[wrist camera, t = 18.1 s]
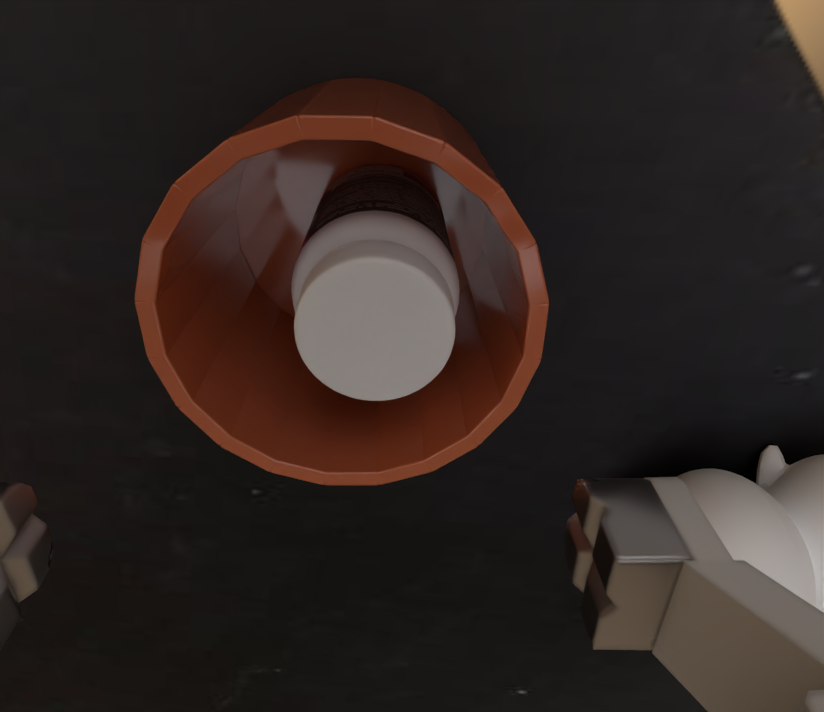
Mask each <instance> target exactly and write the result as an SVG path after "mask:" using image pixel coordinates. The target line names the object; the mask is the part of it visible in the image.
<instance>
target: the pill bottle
mask: <svg viewBox="0 0 824 712" xmlns="http://www.w3.org/2000/svg"><path fill="white" fill-rule="evenodd" d="M291 293H292V302H293V307H294V310H295V319H294V334H295V342H296V345H297V348H298V351H299V353H300V356H301V358H302V360H303V361H304V363H305V365H306V366H307V367H308V369H309V370H310V371H311V372H312V374H313V375H314V376H315V377H316V378H317V379H319V380H320V381H321V382H322V383H323V384H325V385H326V386H328V387H329V388H331V389H333V390H334V391H336V392H338V393H341V394H343V395H346V396H348V397H352V398H355V399H360V400H368V401H386V400H392V399H397V398H401V397H404V396H407V395H409V394H412V393H414V392H416V391H418V390H420V389H421V388H423V387H424V386H426V385H427V384H428V383H429V382H431V381H432V380H433V379H434V378H435V377H436V376H437V375H438V374H439V373H440V372H441V370H442V369H443V368H444V366H445V364H446V362H447V361H448V359H449V357H450V354H451V351H452V348H453V345H454V340H455V316H456V313H457V309H458V305H459V296H460V288H459V278H458V273H457V269H456V265H455V261H454V257H453V253H452V250H451V246H450V242H449V237H448V233H447V229H446V225H445V220H444V215H443V212H442V209H441V206H440V204H439V202H438V200H437V198H436V196H435V195H434V193H433V192H432V191H431V189H430V188H429V187H428V186H427V185H426V184H425V183H424V182H423V181H422V180H420V179H419V178H418V177H417V176H415V175H414V174H412V173H410V172H408V171H406V170H403V169H401V168H397V167H393V166H386V165H369V166H364V167H359V168H356V169H354V170H351V171H349V172H347V173H345V174H344V175H342V176H341V177H339V178H338V179H337V180H336V181H335V182H333V183H332V184H331V185H330V187H329V188H328V189H327V190H326V192H325V193H324V195H323V196H322V198H321V200H320V202H319V204H318V206H317V209H316V212H315V214H314V217H313V220H312V222H311V225H310V227H309V229H308V232H307V235H306V237H305V239H304V242H303V245H302V247H301V249H300V252H299V254H298V256H297V259H296V262H295V265H294V270H293V275H292V282H291Z"/></svg>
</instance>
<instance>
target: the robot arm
mask: <svg viewBox="0 0 824 712" xmlns="http://www.w3.org/2000/svg"><path fill="white" fill-rule="evenodd" d="M572 501H573V504H574V507H575V510H576V513H575V514H574V515H573V516H572V517H571V518H569V519H568V520H567V526H566V532H565V556H566V562H567V567H568V571H569V575H570V578H571V581H572V583H573V584H574V585H575V586H576V587H577V588H579V589H580V590H581V591H582V592H583V597H582V602H581V606H580V610H581V613H582V616H583V619H584V622H585V626H586V629H587V632H588V635H589V638H590V641H591V644H592V647H593V649H609V650H653V652H652V653H653V655H654V656H655V657H656V658H657V659H658V660H659V661H660V662H661V663H662V664H663V665H664V666H665V667H666V668H667V669H668V670H669V671H670V672H671V673H672V674H673V675H674V677H675V678H676V679H677V680H678V681H679V682H680V683H681V684H682V685H683V686H684V687H685V688H686V689H687V690H688V691H689V692H690V693H691V694H692V695H693V696H694V697H695V699H696V700H697V701H698V702H699V703H700V704H701V705H702V706H703V707H704V708H705V709H706V710H707V711H708V712H824V613H823V612H822V611H820V610H819V609H817V608H816V607H814V606H813V605H811V604H810V603H808V602H806V601H805V600H803V599H802V598H800V597H799V596H797V595H796V594H794V593H793V592H791V591H790V590H788V589H787V588H785V587H784V586H782V585H781V584H779V583H778V582H776V581H775V580H773V579H772V578H770V577H769V576H767V575H766V574H764V573H763V572H761V571H760V570H758V569H756V568H755V567H753V566H752V565H750V564H749V563H747V562H746V561H744V560H733V558H732V557H731V555H730V554H729V552H728V550H727V549H726V547H725V546H724V544H723V543H722V541H721V539H720V538H719V536H718V535H717V533H716V532H715V530H714V528H713V527H712V525H711V524H710V522H709V520H708V519H707V517H706V516H705V514H704V513H703V511H702V509H701V508H700V506H699V505H698V503H697V501H696V500H695V498H694V497H693V495H692V494H691V492H690V490H689V489H688V487H687V486H686V484H685V483H684V481H683V480H681V479H680V478H678V477H647V478H643V479H642V478H615V479H578V480H577V482H576V484H575V486H574V490H573V495H572ZM37 505H38V500H37V498H36V496H35V494H34V492H33V490H32V487H31V486H29V485H26V484H23V483H3V482H0V650H1V648H2V647H3V645H4V644H5V642H6V640H7V639H8V637H9V635H10V634H11V632H12V631H13V629H14V627H15V626H16V624H17V623H18V621H19V619H20V618H21V616H22V615H21V610H20V605H19V602H21V601H22V600H23V599H25V598H26V597H28V596H29V595H31V594H32V593H33V592H35V591H36V590H38V588H39V587H40V585H41V583H42V582H43V580H44V578H45V576H46V575H47V573H48V570H49V566H50V562H51V558H52V554H53V545H52V536H51V533H50V531H49V528H48V525H47V524H45V523H44V522H43V521H41V520H40V519H39V518H37V517H36V516H35V515H33V512H34V510H35V508H36V507H37Z"/></svg>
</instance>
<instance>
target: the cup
mask: <svg viewBox="0 0 824 712" xmlns="http://www.w3.org/2000/svg"><path fill="white" fill-rule="evenodd" d="M369 165H386V166H393V167H397V168H401V169H403V170H406V171H408V172H410V173H412V174H414V175H415V176H417V177H418V178H419V179H420V180H422V181H423V182H424V183H425V184H426V185H427V186H428V187H429V188H430V189H431V191H432V192H433V193H434V195H435V196H436V198H437V200H438V202H439V204H440V206H441V209H442V212H443V215H444V220H445V225H446V229H447V233H448V237H449V242H450V246H451V250H452V253H453V257H454V261H455V265H456V269H457V273H458V278H459V288H460V296H459V305H458V309H457V313H456V316H455V340H454V345H453V348H452V351H451V354H450V357H449V359H448V361H447V362H446V364H445V366H444V368H443V369H442V370H441V372H440V373H439V374H438V375H437V376H436V377H435V378H434V379H433V380H432V381H431V382H429V383H428V384H427V385H426V386H424V387H423V388H421V389H420V390H418V391H416V392H414V393H412V394H409V395H407V396H404V397H401V398H397V399H392V400H386V401H368V400H360V399H355V398H352V397H348V396H346V395H343V394H341V393H338V392H336V391H334V390H333V389H331V388H329V387H328V386H326V385H325V384H323V383H322V382H321V381H320V380H319V379H317V378H316V377H315V376H314V375H313V374H312V372H311V371H310V370H309V369H308V367H307V366H306V365H305V363H304V361H303V360H302V358H301V356H300V353H299V351H298V348H297V345H296V342H295V334H294V319H295V310H294V307H293V302H292V293H291V282H292V275H293V270H294V265H295V262H296V259H297V256H298V254H299V252H300V249H301V247H302V245H303V242H304V239H305V237H306V235H307V232H308V229H309V227H310V225H311V222H312V220H313V217H314V214H315V212H316V209H317V206H318V204H319V202H320V200H321V198H322V196H323V195H324V193H325V192H326V190H327V189H328V188H329V187H330V185H331V184H332V183H333V182H335V181H336V180H337V179H338V178H339V177H341V176H342V175H344V174H345V173H347V172H349V171H351V170H354V169H356V168H359V167H364V166H369ZM548 302H549V298H548V293H547V288H546V283H545V279H544V274H543V269H542V264H541V260H540V255H539V250H538V245H537V244H536V240H535V239H534V237H533V236H532V234H531V232H530V231H529V229H528V228H527V226H526V224H525V223H524V221H523V219H522V218H521V216H520V215H519V213H518V211H517V210H516V208H515V207H514V205H513V203H512V202H511V200H510V199H509V197H508V195H507V194H506V192H505V190H504V189H503V187H502V186H501V184H500V182H499V181H498V179H497V178H496V176H495V174H494V173H493V171H492V170H491V168H490V167H489V165H488V163H487V162H486V160H485V159H484V157H483V155H482V154H481V152H480V151H479V149H478V147H477V146H476V144H475V143H474V141H473V139H472V138H471V136H470V135H469V133H468V131H467V130H466V129H465V128H464V126H463V125H461V124H460V123H459V122H458V121H457V120H456V119H455V118H454V117H453V116H452V115H451V114H450V113H449V112H448V111H446V110H445V109H444V108H442V107H441V106H440V105H438V104H437V103H436V102H434V101H433V100H431V99H430V98H428V97H426V96H424V95H422V94H420V93H419V92H417V91H415V90H412V89H410V88H407V87H404V86H402V85H399V84H396V83H392V82H388V81H383V80H379V79H368V78H344V79H335V80H330V81H326V82H321V83H318V84H316V85H313V86H310V87H307V88H304V89H302V90H300V91H298V92H295V93H292V94H290V95H288V96H286V97H285V98H283V99H282V100H280V101H279V102H278V103H276V104H275V105H273V106H272V107H271V108H269V109H268V110H266V111H265V112H264V113H262V114H261V115H259V116H258V117H257V118H255V119H254V120H252V121H251V122H250V123H248V124H247V125H245V126H244V127H243V128H241V129H240V130H238V131H237V132H236V133H234V134H233V135H231V136H230V137H229V138H227V139H226V140H224V141H223V142H222V143H221V144H220V145H218V146H217V147H216V148H215V149H214V150H212V151H211V152H210V153H209V154H207V155H206V156H205V157H204V158H203V159H201V160H200V161H199V162H198V163H196V164H195V165H194V166H193V167H192V168H190V169H189V170H188V171H187V172H186V173H184V174H183V175H182V176H181V177H179V178H178V179H177V180H176V181H175V183H174V184H172V186H171V188H170V189H169V191H168V193H167V195H166V197H165V198H164V200H163V202H162V204H161V206H160V207H159V209H158V211H157V213H156V215H155V217H154V218H153V220H152V222H151V224H150V226H149V227H148V229H147V231H146V233H145V235H144V236H143V241H142V244H141V251H140V259H139V267H138V274H137V282H136V290H135V306H136V310H137V315H138V319H139V323H140V328H141V332H142V336H143V341H144V345H145V349H146V354H147V357H149V358H148V360H149V362H150V363H151V365H152V367H153V368H154V370H155V371H156V373H157V375H158V376H159V378H160V380H161V381H162V383H163V385H164V386H165V388H166V390H167V391H168V393H169V395H170V396H171V398H172V399H173V401H174V403H175V404H176V406H177V407H179V409H180V410H181V411H182V412H183V413H184V414H185V415H186V416H187V417H188V418H189V419H191V420H192V421H193V422H194V423H195V424H196V425H197V426H198V427H199V428H200V429H201V430H203V431H204V432H205V433H206V434H207V435H208V436H209V437H210V438H211V439H212V440H214V441H215V442H216V443H217V444H218V445H221V447H222V448H224V449H226V450H228V451H230V452H232V453H234V454H236V455H237V456H239V457H241V458H243V459H245V460H247V461H249V462H251V463H253V464H255V465H257V466H259V467H261V468H262V469H264V470H266V471H268V472H270V471H271V473H275V474H279V475H283V476H287V477H291V478H296V479H300V480H304V481H308V482H312V483H316V484H320V485H324V484H325V485H378V484H379V485H382V484H386V483H390V482H394V481H398V480H402V479H406V478H410V477H414V476H418V475H422V474H426V473H430V472H431V471H434V470H436V469H438V468H440V467H442V466H444V465H445V464H447V463H449V462H451V461H453V460H454V459H456V458H458V457H460V456H462V455H463V454H465V453H467V452H469V451H471V450H472V449H474V448H476V447H477V446H478V445H480V444H481V443H482V442H483V441H484V440H485V439H486V438H487V437H488V436H489V435H490V434H491V433H492V432H493V431H494V430H495V429H496V428H497V427H498V426H499V425H500V424H501V423H502V422H503V421H504V420H505V419H506V418H507V417H508V416H509V415H510V414H511V413H512V412H513V411H514V410H515V408H516V407H517V406H518V404H519V402H520V400H521V398H522V396H523V394H524V392H525V391H526V389H527V387H528V385H529V383H530V381H531V379H532V377H533V375H534V373H535V371H536V369H537V367H538V365H539V363H540V361H541V357H542V352H543V345H544V338H545V331H546V324H547V317H548V309H549V303H548Z"/></svg>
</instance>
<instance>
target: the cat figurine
mask: <svg viewBox="0 0 824 712" xmlns="http://www.w3.org/2000/svg"><path fill="white" fill-rule="evenodd" d="M677 477H678V478H680V479H681V480H683V481H684V483H685V484H686V486H687V487H688V489H689V490H690V492H691V494H692V495H693V497H694V498H695V500H696V501H697V503H698V505H699V506H700V508H701V509H702V511H703V513H704V514H705V516H706V517H707V519H708V520H709V522H710V524H711V525H712V527H713V528H714V530H715V532H716V533H717V535H718V536H719V538H720V539H721V541H722V543H723V544H724V546H725V547H726V549H727V550H728V552H729V554H730V555H731V557H732V558H733V560H744V561H746V562H747V563H749V564H750V565H752V566H753V567H755V568H756V569H758V570H760V571H761V572H763V573H764V574H766V575H767V576H769V577H770V578H772V579H773V580H775V581H776V582H778V583H779V584H781V585H782V586H784V587H785V588H787V589H788V590H790V591H791V592H793V593H794V594H796V595H797V596H799V597H800V598H802V599H803V600H805V601H806V602H808V603H810V604H811V605H813V606H814V607H816V608H817V609H819V610H820V611H822V612H823V613H824V454H823V455H814V456H811V457H808V458H805V459H802V460H800V461H798V462H795V463H793V464H791V465H788V464H786V463H785V461H784V458H783V455H782V453H781V451H780V449H779V448H778V446H773V445H768V446H767V447H766V448H765V449H764V450H763V451H762V452H761V453H760V458H759V462H758V467H757V476H756V484H755V483H754V482H752V481H750V480H748V479H746V478H745V477H743V476H740V475H738V474H735V473H732V472H729V471H725V470H720V469H698V470H692V471H689V472H686V473H683V474H681V475H679V476H677Z"/></svg>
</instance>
